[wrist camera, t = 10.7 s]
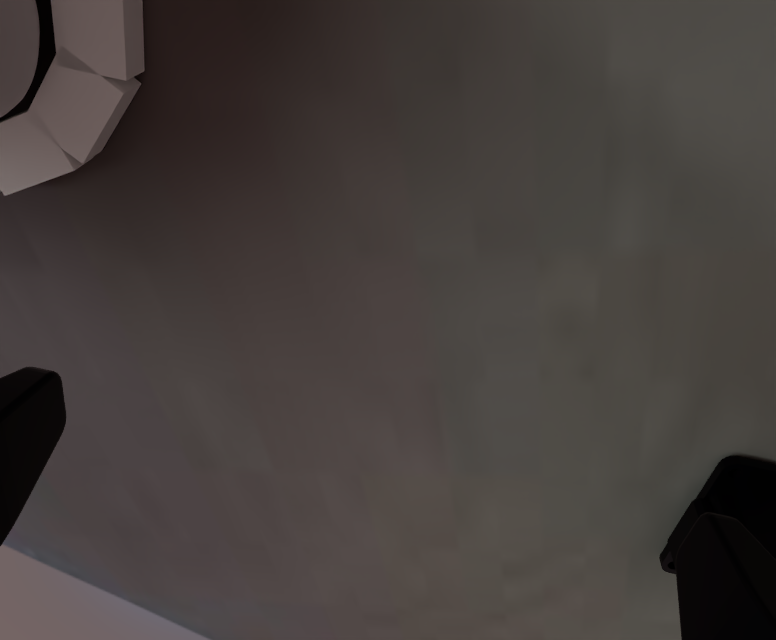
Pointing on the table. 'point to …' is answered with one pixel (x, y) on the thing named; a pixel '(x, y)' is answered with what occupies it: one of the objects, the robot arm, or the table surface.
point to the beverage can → (17, 50)
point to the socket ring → (76, 92)
